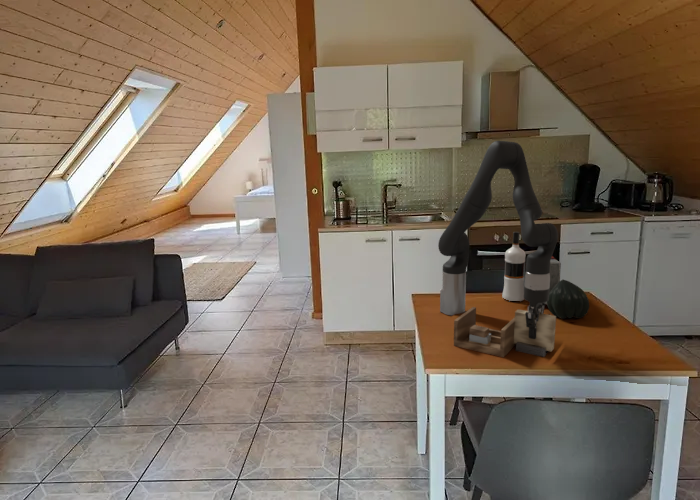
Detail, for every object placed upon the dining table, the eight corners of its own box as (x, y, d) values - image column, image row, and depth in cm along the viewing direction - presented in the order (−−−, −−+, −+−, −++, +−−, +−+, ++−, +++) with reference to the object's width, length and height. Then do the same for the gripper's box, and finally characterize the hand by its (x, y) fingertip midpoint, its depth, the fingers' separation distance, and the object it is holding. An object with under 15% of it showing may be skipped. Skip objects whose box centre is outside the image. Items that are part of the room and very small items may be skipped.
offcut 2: (469, 340, 161) (469, 334, 161) (473, 336, 165) (473, 330, 164) (487, 344, 158) (487, 338, 158) (490, 340, 161) (491, 333, 161)
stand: (515, 353, 158) (515, 343, 157) (522, 345, 164) (523, 335, 164) (543, 359, 153) (544, 349, 152) (550, 351, 159) (551, 341, 159)
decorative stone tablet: (562, 261, 194) (548, 251, 224) (545, 260, 196) (533, 251, 225) (560, 308, 197) (546, 292, 226) (543, 307, 198) (531, 291, 227)
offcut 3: (468, 346, 162) (468, 340, 162) (473, 342, 165) (473, 336, 165) (485, 350, 158) (485, 344, 158) (490, 346, 162) (490, 340, 161)
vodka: (500, 301, 210) (503, 233, 204) (504, 294, 218) (506, 229, 212) (522, 303, 206) (526, 234, 200) (525, 297, 214) (529, 230, 208)
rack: (453, 348, 163) (454, 320, 161) (472, 333, 176) (472, 306, 174) (503, 360, 154) (504, 330, 151) (519, 343, 166) (520, 315, 164)
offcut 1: (469, 334, 161) (469, 328, 161) (474, 330, 164) (474, 324, 163) (484, 337, 158) (484, 331, 157) (488, 334, 161) (489, 328, 160)
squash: (594, 312, 178) (588, 275, 185) (550, 311, 182) (547, 275, 189) (586, 326, 190) (581, 291, 197) (545, 325, 194) (542, 291, 201)
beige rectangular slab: (513, 343, 161) (515, 312, 158) (516, 340, 163) (518, 309, 161) (551, 351, 154) (553, 318, 151) (553, 348, 156) (556, 316, 154)
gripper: (531, 278, 162) (528, 327, 165) (517, 289, 151) (515, 341, 154) (554, 282, 157) (551, 331, 161) (543, 293, 146) (539, 346, 150)
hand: (533, 336), depth 158 cm, fingers open, 3 cm apart
